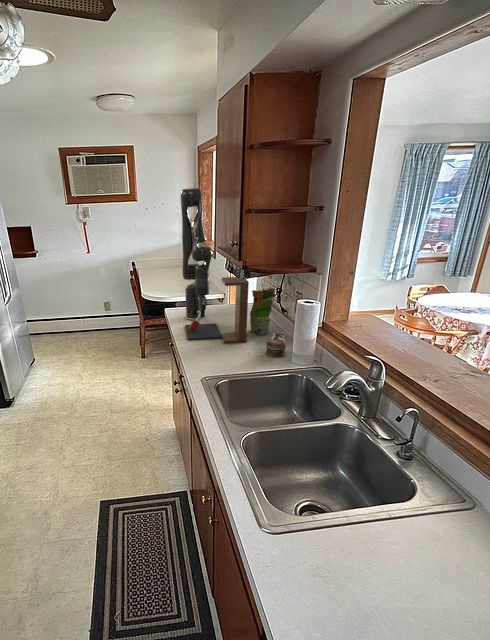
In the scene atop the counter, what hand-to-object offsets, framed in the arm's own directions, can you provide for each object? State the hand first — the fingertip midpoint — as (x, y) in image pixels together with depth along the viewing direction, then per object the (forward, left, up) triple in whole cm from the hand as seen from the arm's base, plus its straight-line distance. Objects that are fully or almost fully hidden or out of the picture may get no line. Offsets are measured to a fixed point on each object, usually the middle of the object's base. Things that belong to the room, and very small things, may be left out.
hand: (202, 316), depth 216 cm
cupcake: (+34, +32, -10) cm, 48 cm away
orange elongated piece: (0, -4, 0) cm, 4 cm away
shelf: (+12, +15, -10) cm, 22 cm away
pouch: (+4, +32, -10) cm, 34 cm away
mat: (0, 0, -10) cm, 10 cm away
